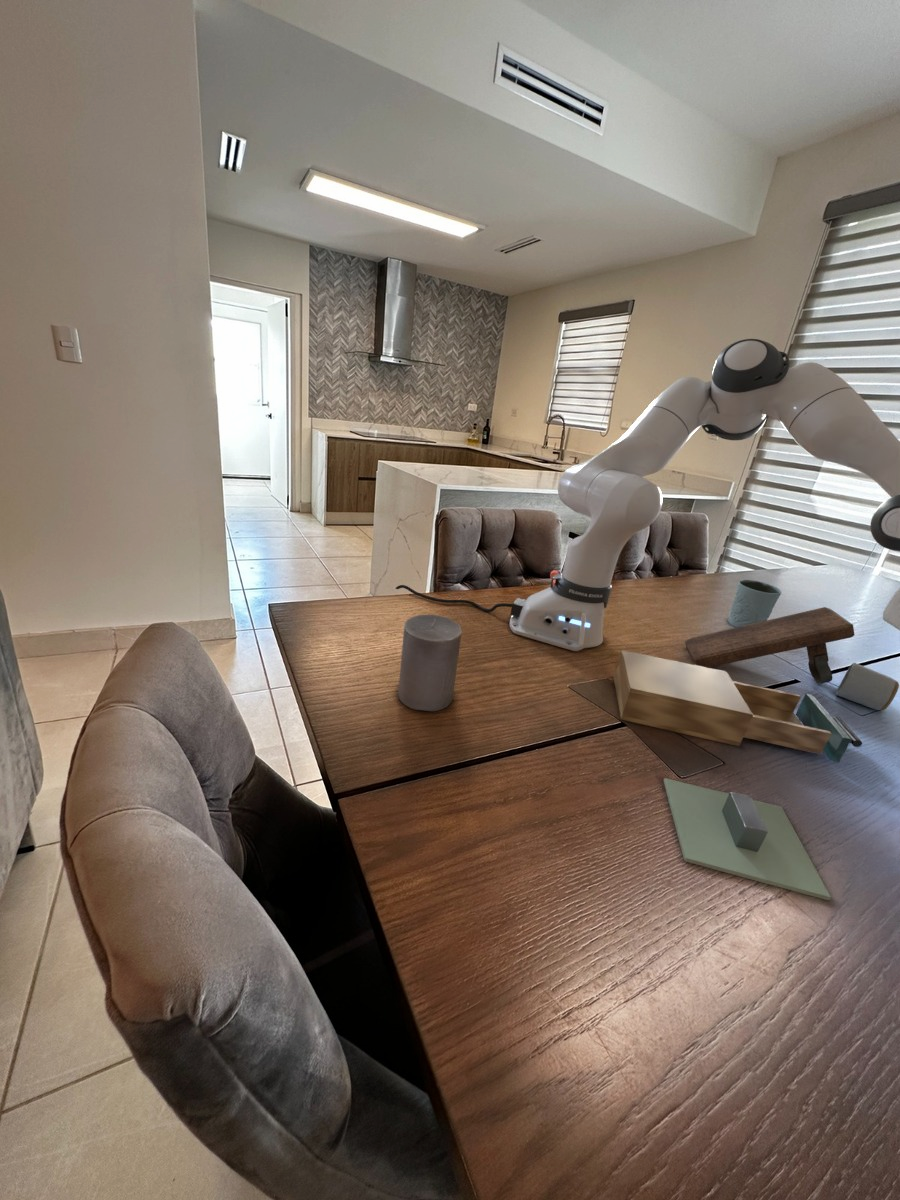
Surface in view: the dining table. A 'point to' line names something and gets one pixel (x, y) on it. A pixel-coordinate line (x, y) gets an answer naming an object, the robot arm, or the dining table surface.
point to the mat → (715, 847)
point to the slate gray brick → (744, 822)
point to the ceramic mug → (868, 687)
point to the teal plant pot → (753, 602)
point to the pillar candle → (429, 662)
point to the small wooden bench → (775, 640)
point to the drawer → (795, 722)
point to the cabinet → (680, 698)
